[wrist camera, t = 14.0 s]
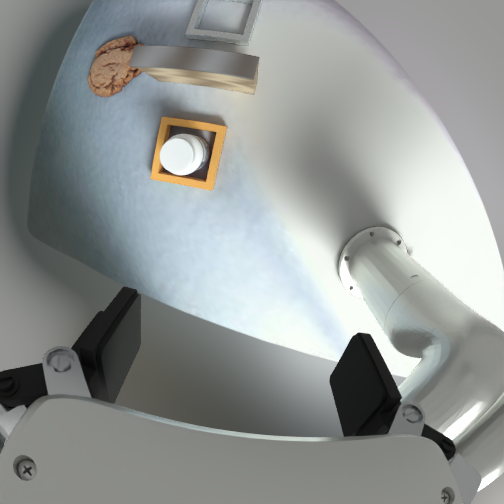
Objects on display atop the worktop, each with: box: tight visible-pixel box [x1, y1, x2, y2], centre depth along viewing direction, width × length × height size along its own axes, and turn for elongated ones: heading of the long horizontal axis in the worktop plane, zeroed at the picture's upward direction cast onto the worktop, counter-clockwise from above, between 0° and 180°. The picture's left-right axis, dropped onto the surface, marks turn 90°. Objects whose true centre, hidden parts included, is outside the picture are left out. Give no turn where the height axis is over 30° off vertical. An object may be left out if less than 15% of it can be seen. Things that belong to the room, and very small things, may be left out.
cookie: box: [88, 36, 144, 97], centre depth 30 cm, size 10×11×3 cm
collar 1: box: [185, 0, 263, 46], centre depth 28 cm, size 9×9×2 cm
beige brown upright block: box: [129, 46, 259, 95], centre depth 28 cm, size 14×3×11 cm, turn 77°
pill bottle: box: [160, 134, 210, 175], centre depth 33 cm, size 5×5×9 cm
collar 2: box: [151, 117, 227, 191], centre depth 36 cm, size 9×9×2 cm
